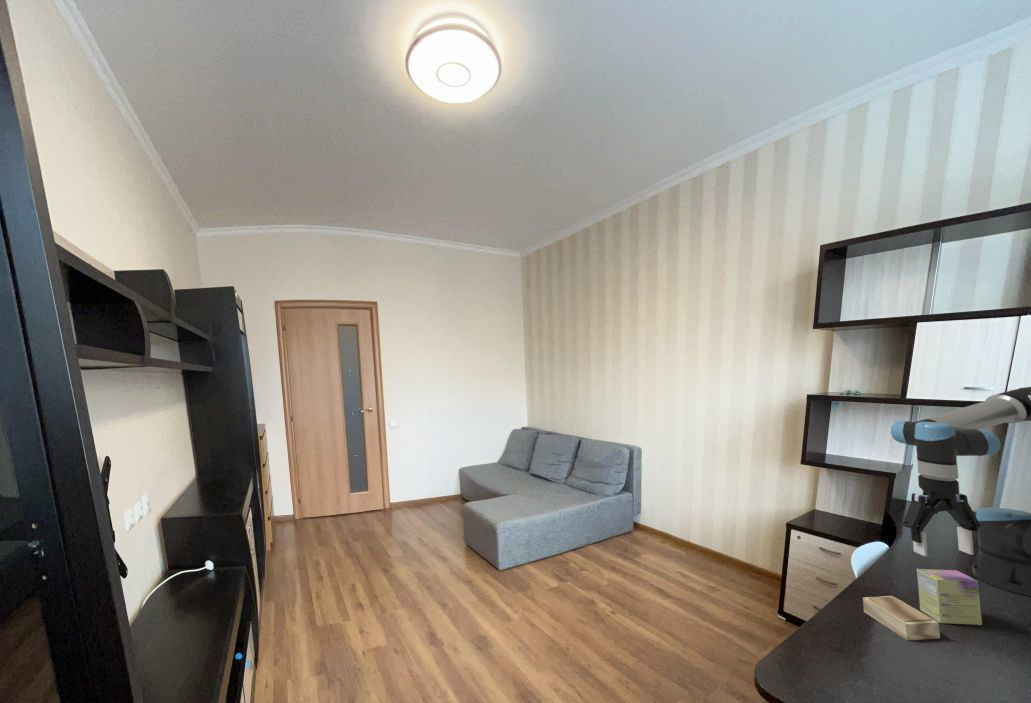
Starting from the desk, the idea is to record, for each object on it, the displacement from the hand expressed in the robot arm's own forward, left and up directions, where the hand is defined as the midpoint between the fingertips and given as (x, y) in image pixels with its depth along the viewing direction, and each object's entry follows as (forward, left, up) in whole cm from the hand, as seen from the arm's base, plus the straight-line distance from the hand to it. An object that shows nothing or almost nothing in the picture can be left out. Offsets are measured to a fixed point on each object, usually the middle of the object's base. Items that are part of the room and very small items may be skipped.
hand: (943, 553), depth 101 cm
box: (0, 0, -18) cm, 18 cm away
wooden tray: (+16, +2, -18) cm, 24 cm away
